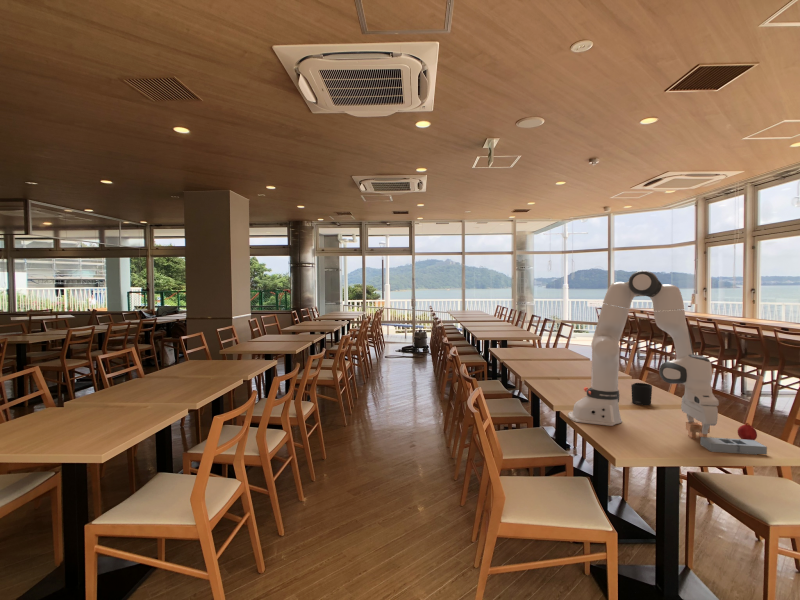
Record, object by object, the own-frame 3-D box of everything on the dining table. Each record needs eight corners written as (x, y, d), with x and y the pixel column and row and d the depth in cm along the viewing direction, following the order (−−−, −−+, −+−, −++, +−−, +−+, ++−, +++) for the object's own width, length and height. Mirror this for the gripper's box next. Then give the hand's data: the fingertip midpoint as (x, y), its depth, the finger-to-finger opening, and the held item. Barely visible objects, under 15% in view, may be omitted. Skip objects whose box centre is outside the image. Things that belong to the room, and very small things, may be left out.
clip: (690, 438, 165) (690, 424, 165) (685, 435, 168) (685, 421, 168) (709, 439, 163) (709, 425, 163) (704, 436, 167) (705, 422, 167)
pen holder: (627, 401, 222) (627, 382, 222) (645, 401, 222) (645, 382, 222) (637, 405, 213) (637, 386, 212) (655, 405, 212) (656, 386, 212)
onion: (737, 439, 164) (737, 419, 164) (756, 442, 160) (756, 422, 160) (737, 443, 159) (737, 422, 159) (757, 446, 156) (757, 425, 156)
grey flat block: (710, 451, 151) (710, 443, 151) (700, 444, 158) (700, 436, 158) (766, 455, 148) (766, 446, 148) (753, 447, 155) (753, 440, 155)
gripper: (677, 389, 176) (676, 421, 177) (703, 401, 156) (702, 437, 156) (693, 389, 175) (693, 422, 175) (721, 402, 155) (721, 438, 155)
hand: (697, 429), depth 166 cm, fingers open, 8 cm apart
